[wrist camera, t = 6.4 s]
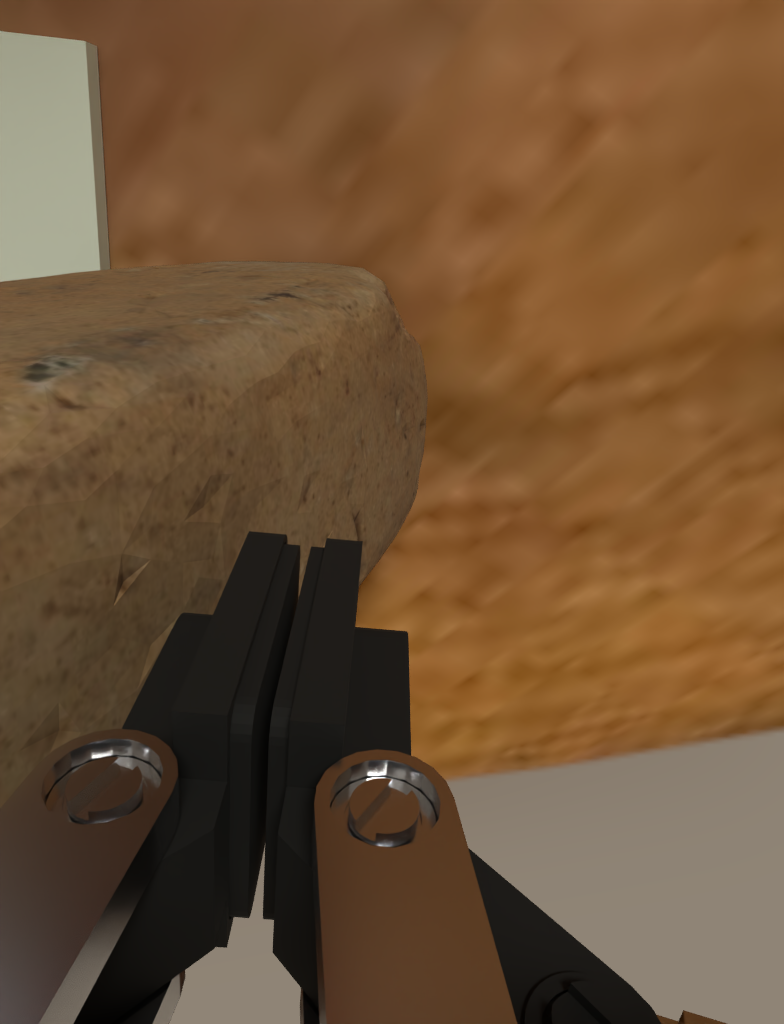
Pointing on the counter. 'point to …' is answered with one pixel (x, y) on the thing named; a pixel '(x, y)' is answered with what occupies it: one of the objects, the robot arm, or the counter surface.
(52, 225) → the cutting board
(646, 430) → the counter surface
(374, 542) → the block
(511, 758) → the counter surface
